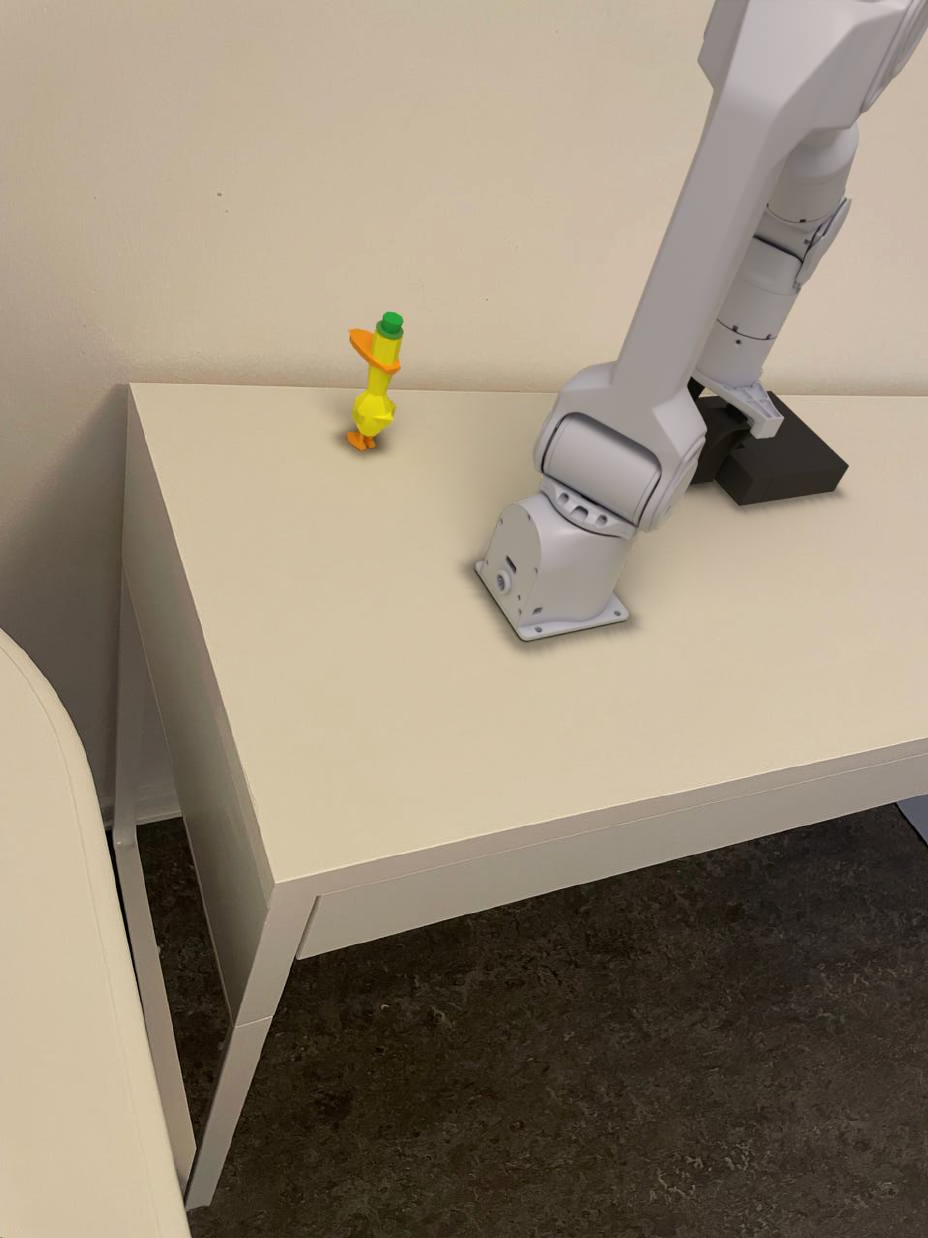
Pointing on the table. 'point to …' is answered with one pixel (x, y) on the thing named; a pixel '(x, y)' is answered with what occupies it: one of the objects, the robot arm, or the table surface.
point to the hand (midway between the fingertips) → (681, 454)
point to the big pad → (777, 460)
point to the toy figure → (376, 378)
